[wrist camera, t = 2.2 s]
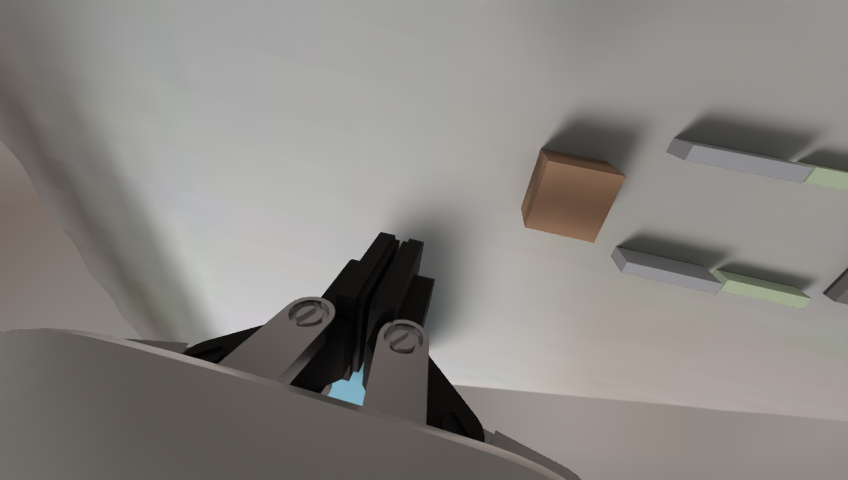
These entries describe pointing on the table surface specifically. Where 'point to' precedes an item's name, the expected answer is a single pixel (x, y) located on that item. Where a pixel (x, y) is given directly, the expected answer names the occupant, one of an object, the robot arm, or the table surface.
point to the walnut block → (570, 195)
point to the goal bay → (771, 289)
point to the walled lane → (713, 156)
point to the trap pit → (839, 289)
